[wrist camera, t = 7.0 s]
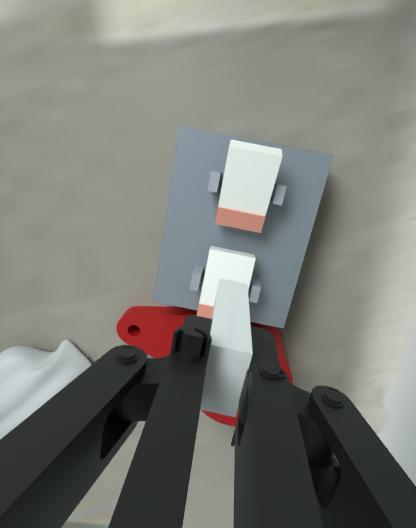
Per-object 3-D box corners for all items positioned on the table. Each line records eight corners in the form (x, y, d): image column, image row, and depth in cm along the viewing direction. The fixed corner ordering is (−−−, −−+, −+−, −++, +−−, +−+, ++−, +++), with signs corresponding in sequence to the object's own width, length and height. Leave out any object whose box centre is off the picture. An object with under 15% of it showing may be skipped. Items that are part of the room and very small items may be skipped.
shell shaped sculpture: (22, 426, 42) (-15, 471, 36) (-13, 340, 38) (-61, 373, 32) (117, 417, 40) (95, 463, 34) (89, 326, 37) (58, 359, 31)
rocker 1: (231, 139, 23) (228, 146, 21) (281, 149, 23) (282, 157, 21) (217, 214, 26) (214, 224, 25) (260, 223, 26) (260, 234, 25)
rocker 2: (211, 245, 26) (209, 249, 25) (254, 254, 26) (255, 258, 25) (197, 313, 28) (195, 321, 26) (238, 322, 28) (239, 330, 26)
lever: (293, 319, 34) (306, 354, 28) (268, 391, 37) (275, 437, 31) (130, 278, 35) (106, 303, 28) (117, 352, 37) (93, 389, 31)
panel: (188, 132, 30) (173, 122, 23) (321, 157, 29) (346, 155, 22) (165, 282, 34) (147, 311, 27) (279, 306, 34) (290, 341, 27)
